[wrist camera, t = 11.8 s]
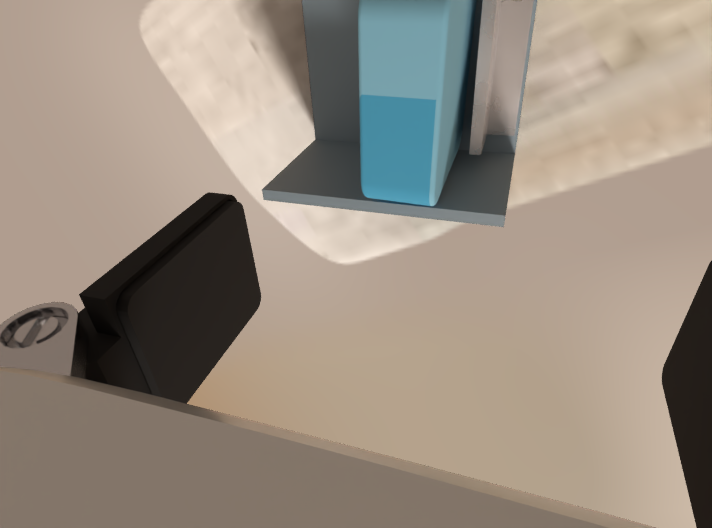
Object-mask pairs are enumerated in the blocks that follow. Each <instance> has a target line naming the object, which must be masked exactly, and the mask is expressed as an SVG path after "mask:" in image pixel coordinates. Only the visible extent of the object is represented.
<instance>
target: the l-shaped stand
mask: <svg viewBox="0 0 712 528" xmlns="http://www.w3.org/2000/svg"><path fill="white" fill-rule="evenodd" d="M482 3H483V0H477V1H476V10H475V20H474V29H473V38H472V47H471V57H470V66H469V75H468V85H467V94H466V103H465V112H464V122H463V130H462V136H461V142H460V146H459V149H458V152H457V154H456V157H455V159H454V161H453V164H452V166H451V169H450V171H449V174H448V176H447V179H446V181H445V184H444V186H443V189H442V191H441V194H440V196H439V199H438V201H437V203H436V204H435V205H434V206H426V205H419V204H411V203H404V202H396V201H388V200H381V199H373V198H367V197H365V196H364V194H363V192H362V188H361V167H360V110H359V53H358V8H359V0H302V7H303V17H304V27H305V37H306V47H307V57H308V68H309V78H310V88H311V98H312V108H313V118H314V128H315V138H316V140H315V141H313V142H312V143H311V144H310V145H309V146H308V147H307V148H306V149H305V150H304V151H303V152H302V153H301V154H300V155H298V156H297V157H296V158H295V159H294V160H293V161H292V162H291V163H290V164H289V165H288V166H287V167H286V168H285V169H284V170H282V171H281V172H280V173H279V174H278V175H277V176H276V177H275V178H274V179H273V180H272V181H271V182H270V183H269V184H267V185H266V186H265V187H264V188H263V189H262V192H263V198H264V200H270V201H279V202H288V203H296V204H305V205H314V206H323V207H332V208H340V209H349V210H358V211H367V212H376V213H384V214H393V215H402V216H411V217H420V218H428V219H437V220H446V221H455V222H463V223H472V224H481V225H490V226H499V227H504V221H505V215H506V208H507V202H508V195H509V189H510V182H511V176H512V169H513V163H514V156H515V149H516V142H517V135H518V128H519V122H520V115H521V108H522V101H523V94H524V87H525V80H526V73H527V67H528V60H529V53H530V46H531V39H532V32H533V25H534V18H535V12H536V5H537V0H534V2H533V10H532V17H531V24H530V31H529V38H528V45H527V52H526V59H525V66H524V73H523V80H522V87H521V94H520V101H519V108H518V115H517V122H516V129H515V136H508V135H492V134H487V136H486V139H485V143H484V146H483V149H482V153H481V155H472V154H469V149H470V138H471V126H472V115H473V104H474V93H475V81H476V70H477V59H478V48H479V36H480V25H481V14H482Z"/></svg>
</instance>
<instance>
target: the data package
mask: <svg viewBox="0 0 712 528" xmlns="http://www.w3.org/2000/svg"><path fill="white" fill-rule="evenodd" d="M476 1H477V0H359V8H358V53H359V110H360V167H361V188H362V192H363V194H364V196H365V197H367V198H373V199H381V200H388V201H396V202H404V203H411V204H419V205H426V206H434V205H435V204H436V203H437V201H438V199H439V196H440V194H441V191H442V189H443V186H444V184H445V181H446V179H447V176H448V174H449V171H450V169H451V166H452V164H453V161H454V159H455V157H456V154H457V152H458V149H459V146H460V142H461V136H462V130H463V122H464V112H465V103H466V94H467V85H468V75H469V66H470V57H471V47H472V38H473V29H474V20H475V10H476Z"/></svg>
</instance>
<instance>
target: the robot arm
mask: <svg viewBox="0 0 712 528" xmlns="http://www.w3.org/2000/svg"><path fill="white" fill-rule="evenodd" d="M79 295H80V297H81V300H82V302H83V304H84V306H85V308H84V309H83V310H82V311H80V312H79V313H78V312H77V310H76V309H75V308H74V307H73V306H72V305H70V304H67V303H64V302H51V303H45V304H40V305H36V306H33V307H30V308H27V309H25V310H23V311H21V312H19V313H17V314H15V315H14V316H12V317H10V318H9V319H7V320H6V321H4V322H3V323H2V324H1V325H0V528H655V527H652V526H648V525H644V524H641V523H637V522H634V521H630V520H627V519H623V518H620V517H616V516H612V515H609V514H605V513H602V512H598V511H594V510H590V509H587V508H583V507H579V506H575V505H572V504H568V503H564V502H560V501H556V500H553V499H549V498H545V497H541V496H538V495H534V494H530V493H526V492H522V491H518V490H515V489H511V488H508V487H504V486H500V485H496V484H493V483H489V482H485V481H481V480H477V479H474V478H470V477H466V476H462V475H459V474H455V473H451V472H447V471H443V470H440V469H436V468H433V467H429V466H425V465H421V464H417V463H413V462H410V461H405V460H402V459H398V458H394V457H390V456H387V455H382V454H379V453H375V452H371V451H367V450H364V449H360V448H356V447H352V446H348V445H345V444H341V443H336V442H333V441H329V440H325V439H321V438H318V437H314V436H309V435H306V434H302V433H298V432H295V431H291V430H287V429H283V428H279V427H275V426H271V425H268V424H264V423H259V422H256V421H252V420H248V419H244V418H240V417H236V416H232V415H228V414H224V413H220V412H216V411H213V410H209V409H205V408H201V407H197V406H193V405H189V404H187V402H188V401H189V400H190V398H191V397H192V396H193V394H194V393H195V391H196V390H197V389H198V388H199V386H200V385H201V384H202V382H203V381H204V380H205V378H206V377H207V376H208V374H209V373H210V372H211V370H212V369H213V368H214V366H215V365H216V364H217V362H218V361H219V360H220V358H221V357H222V356H223V354H224V353H225V352H226V350H227V349H228V348H229V346H230V345H231V344H232V342H233V341H234V340H235V338H236V337H237V336H238V334H239V333H240V332H241V330H242V329H243V328H244V326H245V325H246V324H247V322H248V321H249V320H250V319H251V317H252V316H253V315H254V313H255V312H256V311H257V309H258V307H259V305H260V301H261V292H260V287H259V283H258V277H257V273H256V268H255V263H254V258H253V253H252V248H251V243H250V238H249V234H248V228H247V224H246V219H245V214H244V209H243V206H242V204H241V203H239V202H237V200H236V198H235V197H234V196H232V195H226V194H218V193H207V194H205V195H204V196H203V197H201V198H200V199H199V200H197V201H196V202H195V203H194V204H192V205H191V206H190V207H189V208H187V209H186V210H185V211H184V212H182V213H181V214H180V215H179V216H177V217H176V218H175V219H174V220H172V221H171V222H170V223H169V224H167V225H166V226H165V227H164V228H162V229H161V230H160V231H158V232H157V233H156V234H155V235H153V236H152V237H151V238H150V239H148V240H147V241H146V242H145V243H143V244H142V245H141V246H140V247H138V248H137V249H136V250H134V251H133V252H132V253H131V254H130V255H128V256H127V257H126V258H124V259H123V260H122V261H121V262H119V263H118V264H117V265H116V266H114V267H113V268H112V269H111V270H109V271H108V272H107V273H106V274H104V275H103V276H102V277H101V278H99V279H98V280H97V281H95V282H94V283H93V284H92V285H90V286H89V287H88V288H87V289H86V290H84V291H83V292H82V293H80V294H79ZM662 385H663V389H664V393H665V398H666V402H667V406H668V410H669V414H670V418H671V422H672V427H673V431H674V435H675V439H676V443H677V447H678V451H679V456H680V460H681V464H682V468H683V472H684V477H685V480H686V485H687V489H688V493H689V497H690V502H691V506H692V510H693V514H694V518H695V522H696V527H697V528H712V261H711V262H710V264H709V266H708V268H707V270H706V273H705V275H704V277H703V279H702V282H701V284H700V286H699V288H698V290H697V293H696V295H695V297H694V299H693V302H692V304H691V306H690V309H689V311H688V313H687V315H686V317H685V319H684V322H683V324H682V326H681V328H680V331H679V333H678V335H677V337H676V340H675V342H674V344H673V346H672V349H671V351H670V353H669V356H668V357H667V360H666V362H665V364H664V367H663V373H662Z"/></svg>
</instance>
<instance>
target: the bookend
mask: <svg viewBox="0 0 712 528" xmlns="http://www.w3.org/2000/svg"><path fill="white" fill-rule="evenodd" d="M533 2H534V0H483V3H482V14H481V25H480V36H479V48H478V59H477V70H476V81H475V93H474V104H473V115H472V126H471V138H470V149H469V154H472V155H481V153H482V149H483V146H484V143H485V139H486V136H487V134H492V135H508V136H515V129H516V122H517V115H518V108H519V101H520V94H521V87H522V80H523V73H524V66H525V59H526V52H527V45H528V38H529V31H530V24H531V17H532V10H533Z"/></svg>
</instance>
